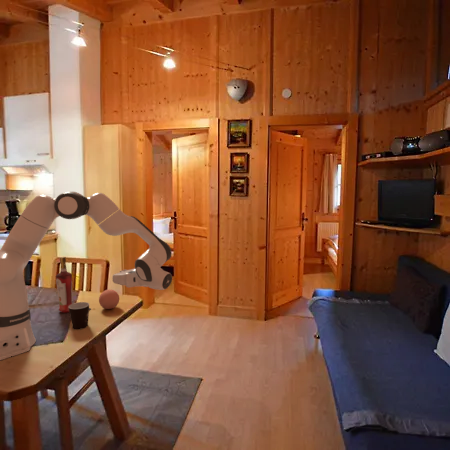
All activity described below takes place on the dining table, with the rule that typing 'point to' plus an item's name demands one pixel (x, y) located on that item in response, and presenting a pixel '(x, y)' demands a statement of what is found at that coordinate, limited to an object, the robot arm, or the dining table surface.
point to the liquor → (64, 287)
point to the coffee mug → (79, 315)
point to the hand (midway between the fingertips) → (122, 272)
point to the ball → (109, 299)
